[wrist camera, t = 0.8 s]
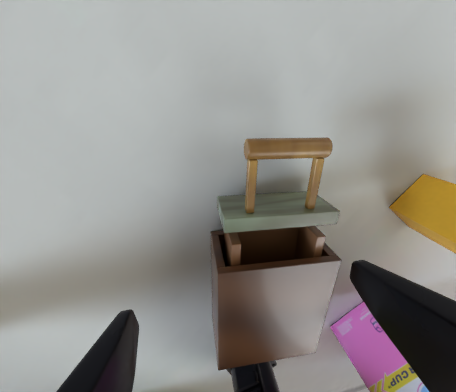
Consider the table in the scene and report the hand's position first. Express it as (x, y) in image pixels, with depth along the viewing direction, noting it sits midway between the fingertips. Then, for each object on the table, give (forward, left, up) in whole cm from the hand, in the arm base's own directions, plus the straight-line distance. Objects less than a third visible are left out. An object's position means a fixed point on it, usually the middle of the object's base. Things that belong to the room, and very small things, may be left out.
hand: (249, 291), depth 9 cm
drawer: (-5, -3, -11) cm, 13 cm away
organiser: (-12, 0, -12) cm, 17 cm away
